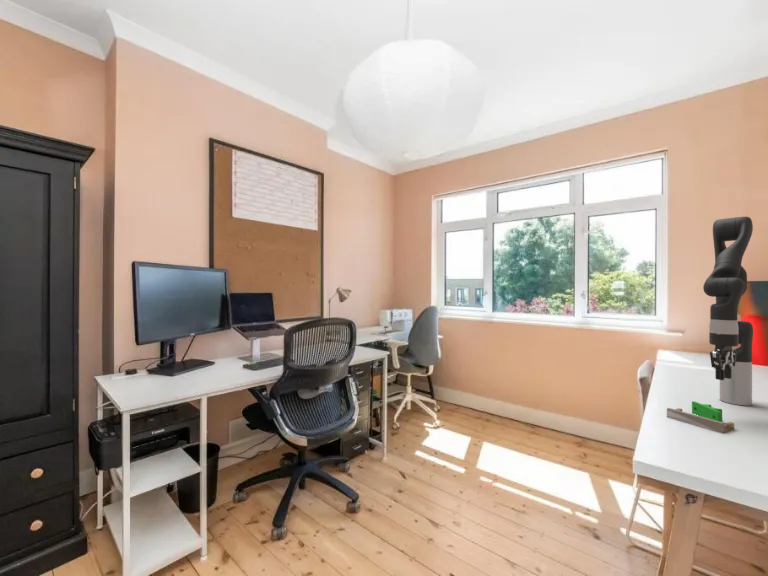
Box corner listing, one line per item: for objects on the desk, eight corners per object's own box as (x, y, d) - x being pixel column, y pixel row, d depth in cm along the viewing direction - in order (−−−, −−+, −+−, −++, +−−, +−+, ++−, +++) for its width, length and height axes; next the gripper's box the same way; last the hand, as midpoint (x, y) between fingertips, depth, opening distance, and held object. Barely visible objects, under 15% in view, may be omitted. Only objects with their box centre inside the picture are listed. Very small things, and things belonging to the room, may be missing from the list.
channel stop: (679, 413, 125) (679, 405, 125) (734, 428, 111) (734, 419, 111) (666, 416, 121) (666, 408, 121) (722, 432, 108) (722, 423, 108)
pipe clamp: (730, 426, 114) (730, 412, 114) (717, 425, 114) (717, 412, 114) (702, 413, 125) (703, 401, 125) (691, 413, 126) (691, 400, 126)
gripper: (719, 330, 130) (719, 374, 130) (700, 331, 124) (700, 378, 124) (747, 332, 123) (747, 379, 123) (727, 334, 117) (727, 383, 117)
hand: (723, 378), depth 123 cm, fingers open, 4 cm apart
